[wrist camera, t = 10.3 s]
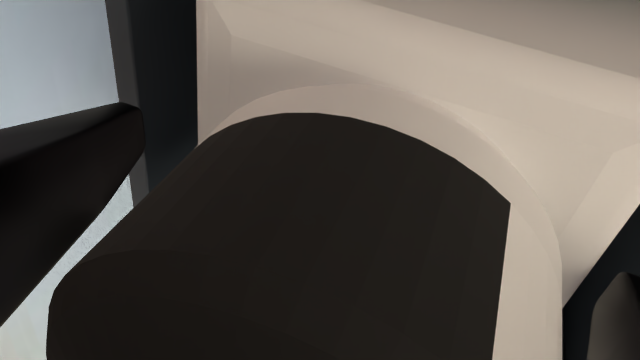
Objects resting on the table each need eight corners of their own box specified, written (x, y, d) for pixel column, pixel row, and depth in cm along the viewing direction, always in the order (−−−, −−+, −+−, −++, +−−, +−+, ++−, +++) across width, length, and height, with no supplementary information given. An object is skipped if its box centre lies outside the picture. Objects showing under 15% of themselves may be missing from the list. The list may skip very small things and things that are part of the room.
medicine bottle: (306, 127, 17) (32, 493, 8) (343, -111, 13) (-182, 129, 4) (519, 198, 16) (467, 724, 7) (645, -38, 11) (964, 605, 2)
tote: (864, -157, 10) (1099, -116, 5) (575, 267, 17) (580, 419, 13) (233, -266, 12) (62, -294, 8) (226, 148, 20) (137, 243, 16)
